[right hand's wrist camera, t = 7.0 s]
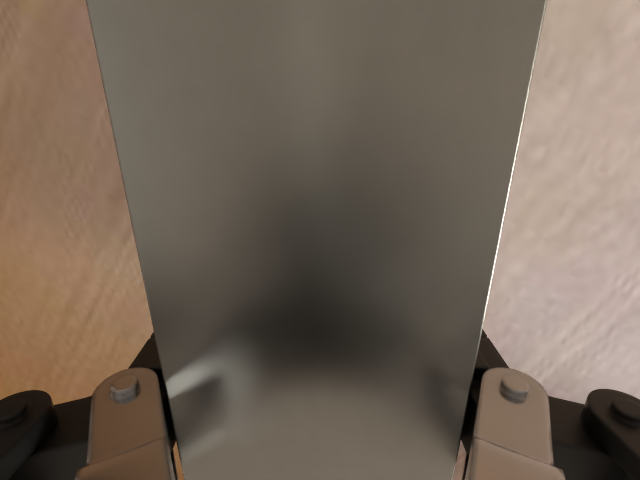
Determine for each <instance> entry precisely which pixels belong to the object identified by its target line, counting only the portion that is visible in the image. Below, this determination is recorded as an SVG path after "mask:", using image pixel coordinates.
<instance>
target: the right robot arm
mask: <svg viewBox="0 0 640 480" xmlns="http://www.w3.org/2000/svg"><path fill="white" fill-rule="evenodd" d="M461 440H462V443H463V445H464V448H465V450H466V457H465V462H464V468H463V474H462V480H640V400H639V399H637V398H635V397H633V396H631V395H628V394H626V393H623V392H620V391H616V390H611V389H597V390H594V391H592V392H591V393H589V395H588V397H587V400H586V403H585V405H584V404H580V403H575V402H571V401H567V400H562V399H558V398H554V397H550V396H548V395H547V393H546V391H545V389H544V388H543V387H542V386H541V384H540V383H538V382H537V381H536V380H535V379H533V378H532V377H530V376H528V375H527V374H525V373H522V372H520V371H517V370H514V369H510V368H509V367H508V366H507V364H506V363H505V361H504V360H503V358H502V357H501V356H500V354H499V353H498V351H497V350H496V348H495V347H494V345H493V344H492V342H491V341H490V339H489V338H487V335H486V334H485V332H484V331H483V329H482V334H481V339H480V344H479V349H478V354H477V359H476V364H475V369H474V374H473V379H472V384H471V390H470V395H469V400H468V405H467V410H466V415H465V420H464V425H463V430H462V435H461ZM175 442H176V436H175V431H174V426H173V422H172V417H171V412H170V407H169V402H168V397H167V392H166V388H165V383H164V378H163V373H162V368H161V363H160V358H159V354H158V349H157V344H156V339H155V334H154V332H153V334H152V335H151V338H150V339H148V341H147V342H146V344H145V345H144V347H143V348H142V350H141V351H140V352H139V354H138V355H137V357H136V358H135V360H134V361H133V363H132V364H131V365H130V367H129V368H128V369H126V370H123V371H120V372H118V373H115V374H113V375H112V376H110V377H108V378H107V379H105V380H104V381H103V382H102V383H100V384H99V386H98V387H97V388H96V389H95V391H94V393H93V395H92V396H90V397H86V398H83V399H78V400H74V401H70V402H66V403H61V404H57V405H53V402H52V400H51V397H50V395H49V394H48V393H46V392H44V391H40V390H30V391H24V392H20V393H17V394H14V395H11V396H8V397H6V398H4V399H2V400H0V480H178V474H177V468H176V462H175V456H174V452H173V447H174V445H175Z"/></svg>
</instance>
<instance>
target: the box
mask: <svg viewBox="0 0 640 480" xmlns="http://www.w3.org/2000/svg"><path fill="white" fill-rule="evenodd" d="M86 4H87V9H88V14H89V19H90V23H91V28H92V33H93V38H94V43H95V48H96V52H97V57H98V62H99V67H100V72H101V77H102V82H103V86H104V91H105V96H106V101H107V106H108V111H109V116H110V120H111V125H112V130H113V135H114V140H115V145H116V150H117V154H118V159H119V164H120V169H121V174H122V179H123V184H124V188H125V193H126V198H127V203H128V208H129V213H130V218H131V222H132V227H133V232H134V237H135V242H136V247H137V252H138V256H139V261H140V266H141V271H142V276H143V281H144V286H145V290H146V295H147V300H148V305H149V310H150V315H151V320H152V324H153V329H154V334H155V339H156V344H157V349H158V354H159V358H160V363H161V368H162V373H163V378H164V383H165V388H166V392H167V397H168V402H169V407H170V412H171V417H172V422H173V426H174V431H175V436H176V441H177V446H178V451H179V456H180V460H181V465H182V470H183V475H184V480H453V476H454V471H455V466H456V461H457V456H458V450H459V445H460V440H461V435H462V430H463V425H464V420H465V415H466V410H467V405H468V400H469V395H470V390H471V384H472V379H473V374H474V369H475V364H476V359H477V354H478V349H479V344H480V339H481V334H482V329H483V324H484V319H485V313H486V308H487V303H488V298H489V293H490V288H491V283H492V278H493V273H494V268H495V263H496V258H497V253H498V247H499V242H500V237H501V232H502V227H503V222H504V217H505V212H506V207H507V202H508V197H509V192H510V187H511V181H512V176H513V171H514V166H515V161H516V156H517V151H518V146H519V141H520V136H521V131H522V126H523V121H524V116H525V110H526V105H527V100H528V95H529V90H530V85H531V80H532V75H533V70H534V65H535V60H536V55H537V50H538V44H539V39H540V34H541V29H542V24H543V19H544V14H545V9H546V4H547V0H86Z"/></svg>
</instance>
